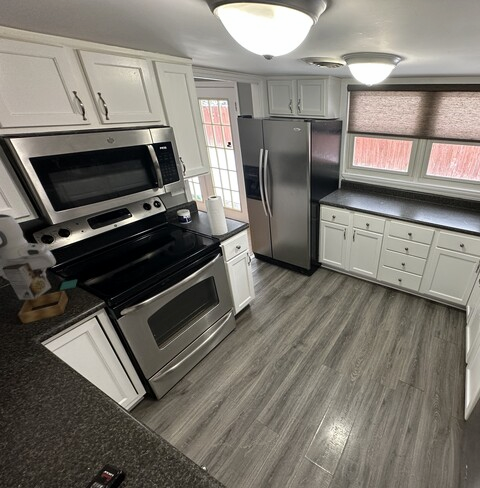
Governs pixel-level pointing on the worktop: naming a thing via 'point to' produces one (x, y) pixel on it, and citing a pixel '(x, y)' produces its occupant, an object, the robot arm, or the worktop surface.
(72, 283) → the mat
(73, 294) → the worktop surface
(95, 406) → the worktop surface
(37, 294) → the coffee box
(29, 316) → the holder
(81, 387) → the worktop surface
